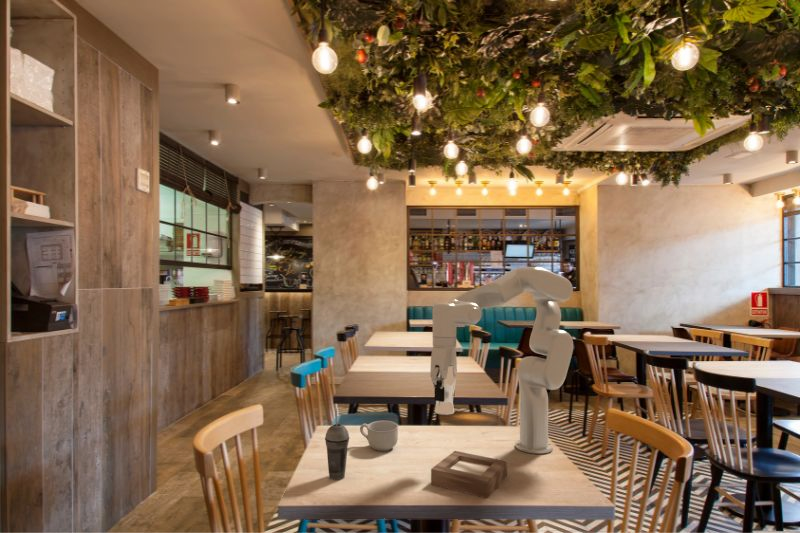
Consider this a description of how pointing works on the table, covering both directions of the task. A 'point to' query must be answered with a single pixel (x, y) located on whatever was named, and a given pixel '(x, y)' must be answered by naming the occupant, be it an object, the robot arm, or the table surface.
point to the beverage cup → (337, 450)
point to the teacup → (381, 434)
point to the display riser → (469, 473)
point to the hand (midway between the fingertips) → (444, 397)
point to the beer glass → (447, 393)
